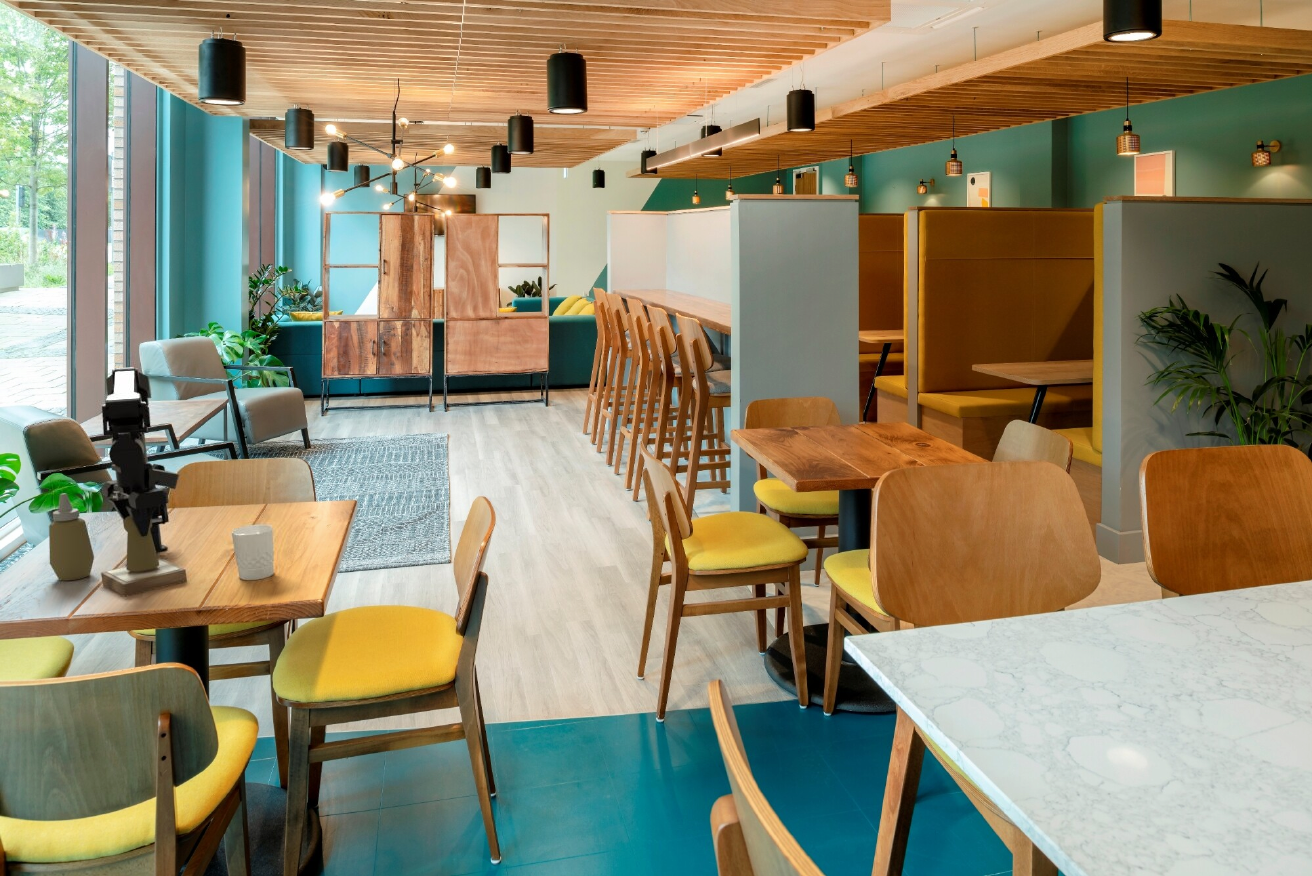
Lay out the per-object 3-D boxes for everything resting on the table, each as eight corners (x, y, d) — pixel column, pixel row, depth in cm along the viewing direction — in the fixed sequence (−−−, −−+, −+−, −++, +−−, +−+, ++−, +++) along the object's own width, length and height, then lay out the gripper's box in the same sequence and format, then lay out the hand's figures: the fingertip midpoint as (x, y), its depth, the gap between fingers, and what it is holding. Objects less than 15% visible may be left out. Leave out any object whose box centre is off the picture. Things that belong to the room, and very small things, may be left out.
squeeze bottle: (50, 585, 199) (38, 500, 196) (53, 574, 206) (42, 492, 203) (95, 579, 203) (84, 495, 200) (97, 568, 210) (86, 487, 207)
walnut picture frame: (102, 584, 200) (100, 571, 199) (162, 569, 208) (161, 557, 208) (125, 596, 192) (123, 583, 191) (186, 581, 200) (185, 568, 200)
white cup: (284, 571, 206) (280, 526, 204) (258, 583, 198) (254, 536, 197) (254, 568, 208) (250, 523, 207) (227, 579, 201) (223, 533, 199)
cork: (145, 572, 196) (139, 519, 194) (119, 570, 197) (113, 518, 195) (166, 562, 202) (160, 511, 200) (140, 561, 203) (134, 510, 201)
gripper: (190, 458, 195) (198, 533, 198) (153, 447, 207) (161, 518, 210) (132, 467, 187) (141, 545, 190) (96, 456, 199) (105, 529, 202)
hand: (139, 533), depth 198 cm, fingers closed on cork, 5 cm apart
